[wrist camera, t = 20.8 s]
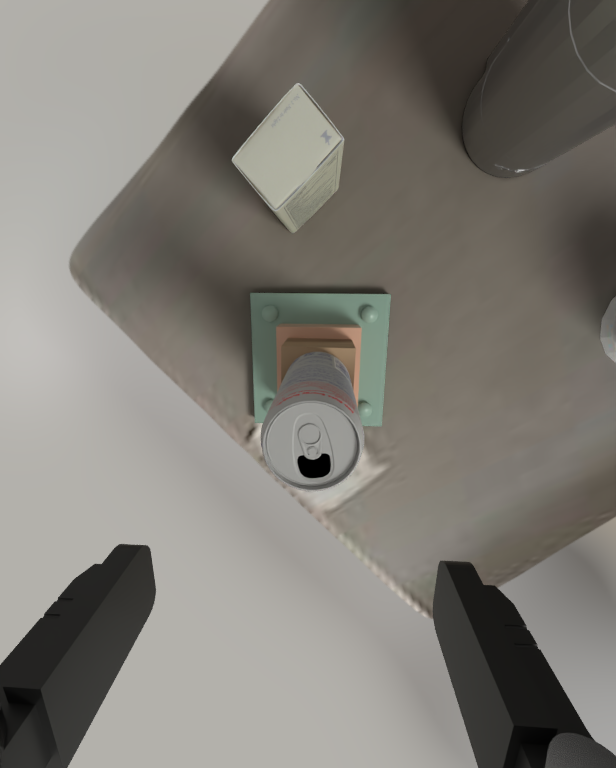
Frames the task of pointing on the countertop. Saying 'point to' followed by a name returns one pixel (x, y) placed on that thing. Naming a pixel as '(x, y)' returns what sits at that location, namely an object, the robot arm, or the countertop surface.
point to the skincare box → (293, 158)
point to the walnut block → (335, 347)
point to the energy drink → (313, 425)
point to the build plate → (321, 313)
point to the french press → (609, 330)
